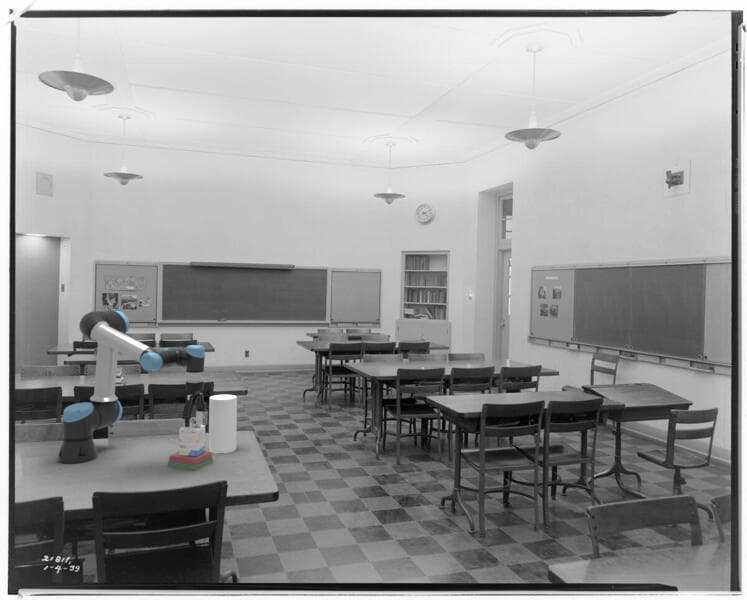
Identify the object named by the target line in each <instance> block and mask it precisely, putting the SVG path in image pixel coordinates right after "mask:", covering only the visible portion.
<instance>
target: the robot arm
mask: <svg viewBox="0 0 747 600" xmlns="http://www.w3.org/2000/svg"><path fill="white" fill-rule="evenodd" d="M78 328H79V331H80V332H81V334H82V336H84V337H85V338H87V339H88V340H90V341H91V342H94V343H97V353H96V362H95V363H96V365H95V376H94V377H95V378H94V390H93V391H94V392H93V394H92V395H91V396H90V397H89V401H88V402H86V401H85V402H79V403H78V402H77V403H74V404H71V405H68V406H66V407H65V408H64V410H63V416H62V444H61V446H60V447H61V448H60V449H59V452H58V457H57V460H58V462H59V461H60V462H59V463H61V462H62V464H80V463H85V462H89V461H92V460H94V459H96V458H97V457H98V450H97V447H96V444H95V441H94V431H96V430H100V429H103V428H106V427H110V426H112V425H115V424H117V423H118V422H119V421H120V419H121V418H122V415H123V406H122V405H121V401H119V400H118V399H119V397H117V395H116V394H115V393H116V383H117V382H116V381H117V380H116V379H117V369H118V357H119V356H118V354H119V353H120V354H123V355H124V356H126V357H129V359H132V360H134V361H135V362H137V363H140V366H141V368H142V369H143V370H145V371H147V372H150V371H151V372H153V371H154V372H155V371H157V370H162V369H166V368H167V369H168V368H173V367H184V368H185V381H186V382H185V391H186V392H188V394H186V395H185V401H184V407H183V412H182V416H181V419H182V420H184V425H183V426H184V434H188V435H191V424H192V414H193V411H194V407H195V408H196V412H195V415H196V416H195V424H199V425H204V423H203V421H204V420H203V417H204V412H205V411H206V407H205V406H206V404H205V399H204V389H205V381H204V380H205V376H206V373H205V358H206V353H205V346H203V345H199V344H191V345H187V346H186V349H183V348H176V347H170V348H169V347H167V348H165V349H163V350H156V349H155V348H152V347H151V346H149V345H147V344H145V343H142V342H141V341H138V339H135V338H133V337H132V336H129V335H127V333H128V331H129V329H130V321H129V318H128V316H127V315H126V314H125V313H124V312H122V311H120V310H111V309H109V310H101V311H100V310H99V311H97V310H96V311H95V310H94V311H90V312H87V313H85V314H84V315H83V316H82V317H81V319H80V321H79V327H78Z"/></svg>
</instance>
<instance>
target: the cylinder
mask: <svg viewBox="0 0 747 600" xmlns="http://www.w3.org/2000/svg"><path fill="white" fill-rule="evenodd" d="M208 406H209V407H208V408H209V409H208V411H209V412H208V413H209V417H208V452H212V454H216V453H217V454H218V453H224V454H229V452H230V453H233V452H235V451H236V450H237V426H238V425H237V422H238V418H237V417H238V416H237V415H238V411H237V410H238V396H237V395H235V394H224V393H223V394H216V395H211V396H210V397H209V405H208Z"/></svg>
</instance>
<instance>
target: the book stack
mask: <svg viewBox="0 0 747 600" xmlns="http://www.w3.org/2000/svg"><path fill="white" fill-rule="evenodd" d="M212 456H213V453H212V452H209V450H208V451H206V450H205V451H204V452H203V453H202V454H200V455H199V456H181V455H179V451H178V452H175V453H173V454H169V460H168V461H167V467H169V468H176V469H181V470H189V471H194V472H195V471H197V470H200V469H203V467H206V466H208V465H209V463H210V464H212V463H213V462H214V461H213V457H212ZM211 462H212V463H211Z"/></svg>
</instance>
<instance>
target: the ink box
mask: <svg viewBox="0 0 747 600" xmlns="http://www.w3.org/2000/svg"><path fill="white" fill-rule="evenodd" d="M182 425H183V426H181V427H179V429H178V431H179V433H178V441H179V442H178V452H179V455H181V456H199V455H200V454H202V453H203V452H204V451H206V424H202V425H199V424H196V423H191V435H188V434H184V423H182Z"/></svg>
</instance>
